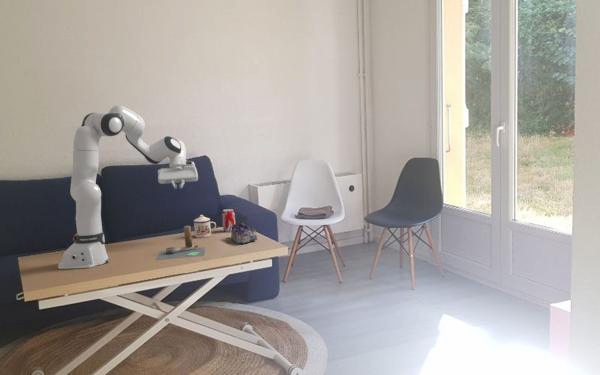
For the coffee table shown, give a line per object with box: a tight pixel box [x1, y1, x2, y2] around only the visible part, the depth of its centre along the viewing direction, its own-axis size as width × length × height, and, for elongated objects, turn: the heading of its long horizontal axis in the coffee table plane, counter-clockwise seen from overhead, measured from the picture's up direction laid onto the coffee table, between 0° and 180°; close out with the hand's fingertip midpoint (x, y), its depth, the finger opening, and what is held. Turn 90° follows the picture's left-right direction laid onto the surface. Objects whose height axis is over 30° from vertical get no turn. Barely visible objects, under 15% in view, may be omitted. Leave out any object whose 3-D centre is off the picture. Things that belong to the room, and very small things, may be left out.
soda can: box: [221, 208, 236, 233], centre depth 324 cm, size 7×7×12 cm
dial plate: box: [155, 246, 206, 261], centre depth 273 cm, size 22×17×2 cm
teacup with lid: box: [193, 214, 217, 239], centre depth 315 cm, size 12×9×12 cm
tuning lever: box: [165, 225, 199, 254], centre depth 276 cm, size 15×4×11 cm, turn 117°
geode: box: [230, 220, 258, 245], centre depth 299 cm, size 20×12×10 cm, turn 28°
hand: (178, 187), depth 295 cm, fingers closed
